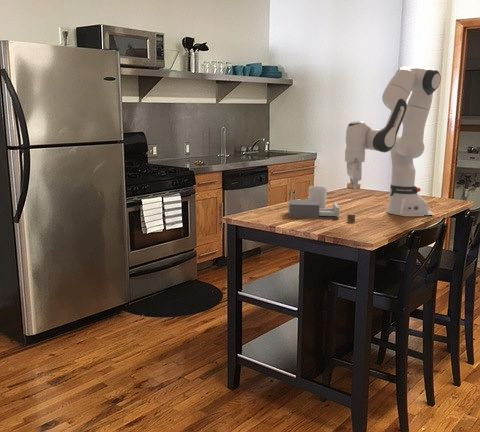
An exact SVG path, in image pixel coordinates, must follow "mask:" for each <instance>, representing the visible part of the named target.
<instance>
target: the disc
mask: <svg viewBox="0 0 480 432" xmlns="http://www.w3.org/2000/svg"><path fill="white" fill-rule="evenodd" d="M346 188H347V189H349V190H354V189H353V183H350V182H347V184H346ZM360 189H361V183H359V182H358V184H357V189H356V190H360Z"/></svg>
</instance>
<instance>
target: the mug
mask: <svg viewBox="0 0 480 432" xmlns="http://www.w3.org/2000/svg"><path fill="white" fill-rule="evenodd" d="M327 193H328V189H327V187H325V186H318V185H317V186H316V185H313V186H312V185H311V186H308V197H307V200H317V201H318V203H319V208H326V200H327V195H328V194H327Z"/></svg>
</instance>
